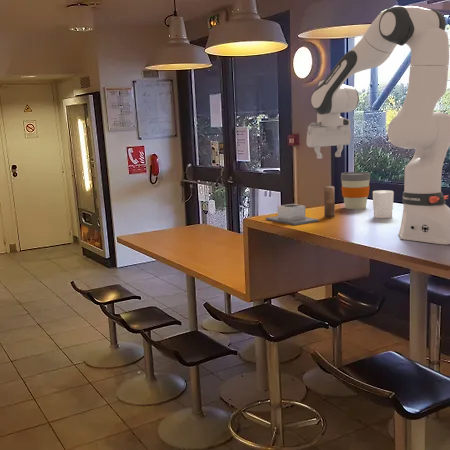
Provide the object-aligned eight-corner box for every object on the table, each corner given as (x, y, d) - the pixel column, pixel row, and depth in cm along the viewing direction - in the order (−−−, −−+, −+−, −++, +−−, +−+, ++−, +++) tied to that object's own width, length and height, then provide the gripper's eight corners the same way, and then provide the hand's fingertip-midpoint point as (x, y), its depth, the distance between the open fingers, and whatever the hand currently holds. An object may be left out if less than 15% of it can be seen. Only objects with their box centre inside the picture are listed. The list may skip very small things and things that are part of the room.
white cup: (397, 217, 214) (398, 191, 213) (380, 219, 212) (380, 193, 210) (385, 214, 222) (385, 189, 220) (368, 216, 219) (368, 191, 217)
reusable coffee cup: (342, 205, 251) (342, 172, 248) (371, 205, 247) (371, 171, 244) (339, 209, 239) (339, 174, 236) (369, 209, 235) (369, 174, 232)
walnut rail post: (336, 216, 222) (336, 186, 219) (329, 218, 219) (328, 187, 217) (329, 215, 225) (329, 186, 223) (322, 216, 223) (322, 187, 221)
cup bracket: (318, 221, 213) (318, 206, 212) (294, 225, 207) (293, 210, 206) (289, 216, 228) (289, 202, 227) (265, 219, 222) (265, 205, 221)
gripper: (313, 122, 208) (313, 159, 210) (353, 120, 218) (353, 156, 220) (302, 123, 213) (303, 159, 215) (342, 121, 223) (342, 155, 226)
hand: (328, 157), depth 218 cm, fingers open, 8 cm apart
